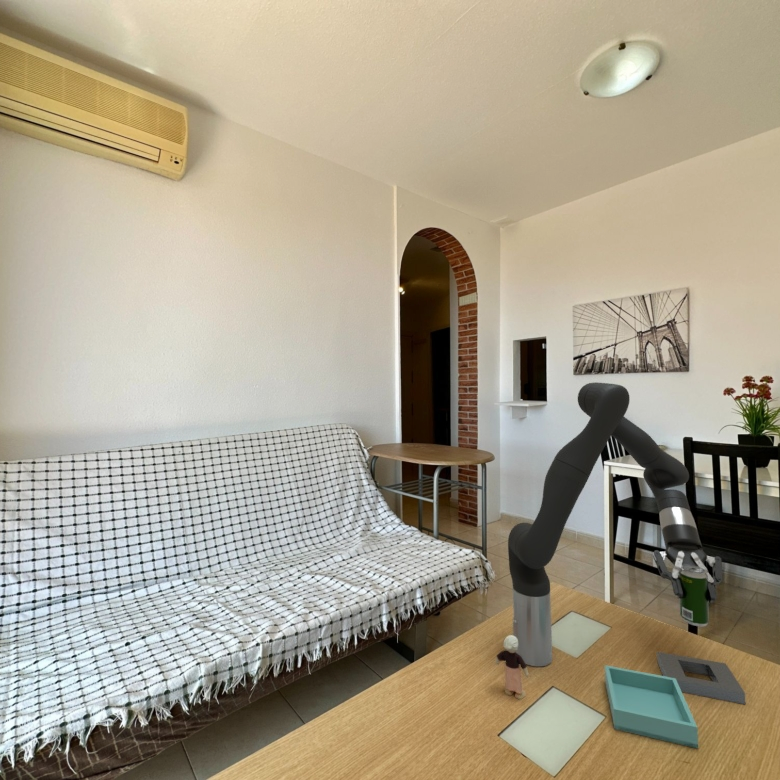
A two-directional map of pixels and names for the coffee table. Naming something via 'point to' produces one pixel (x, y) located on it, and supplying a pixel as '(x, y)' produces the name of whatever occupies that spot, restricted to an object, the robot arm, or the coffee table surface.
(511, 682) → the grandmother figurine
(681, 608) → the beer can
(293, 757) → the coffee table surface
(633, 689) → the tray
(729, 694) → the gray rectangular block
